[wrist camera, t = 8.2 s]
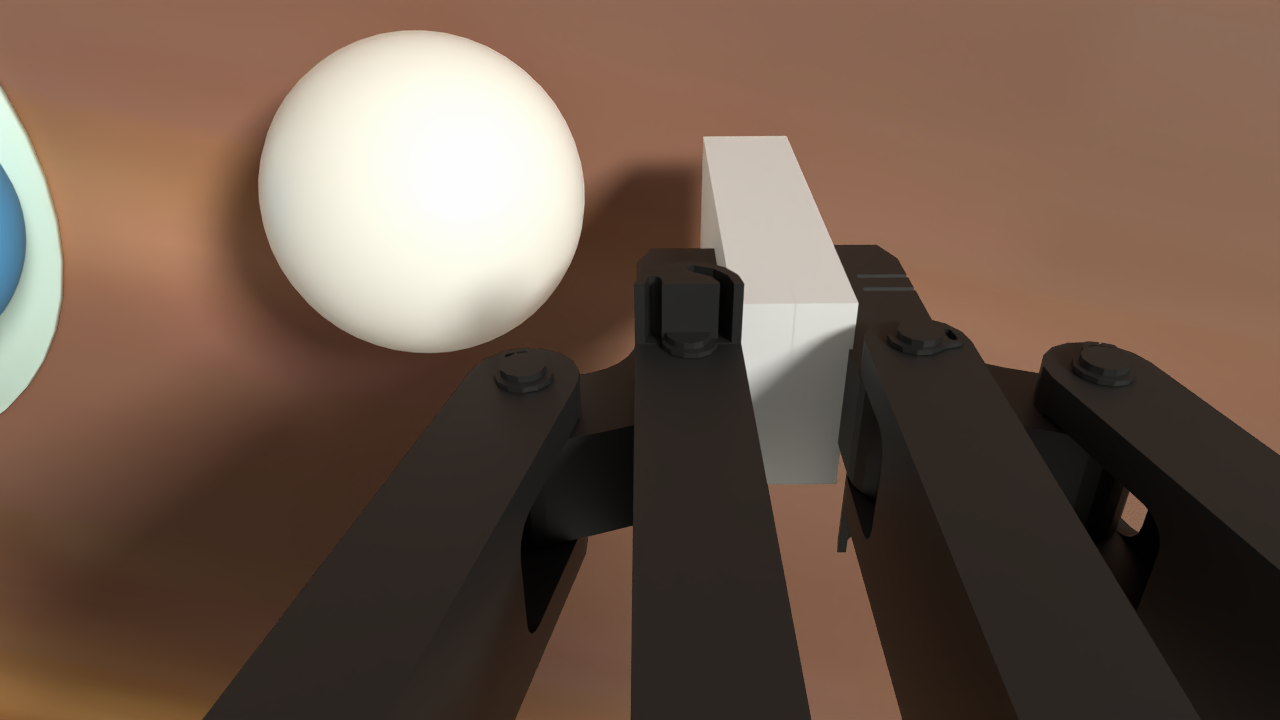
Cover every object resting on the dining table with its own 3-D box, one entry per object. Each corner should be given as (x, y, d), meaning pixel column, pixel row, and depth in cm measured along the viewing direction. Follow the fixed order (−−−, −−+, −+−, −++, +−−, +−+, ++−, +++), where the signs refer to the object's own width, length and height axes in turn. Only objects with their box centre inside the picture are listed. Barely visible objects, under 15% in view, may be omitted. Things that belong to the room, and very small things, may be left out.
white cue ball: (342, -25, 12) (362, -51, 17) (167, 318, 14) (231, 203, 18) (678, 187, 14) (611, 111, 19) (496, 460, 16) (477, 325, 21)
